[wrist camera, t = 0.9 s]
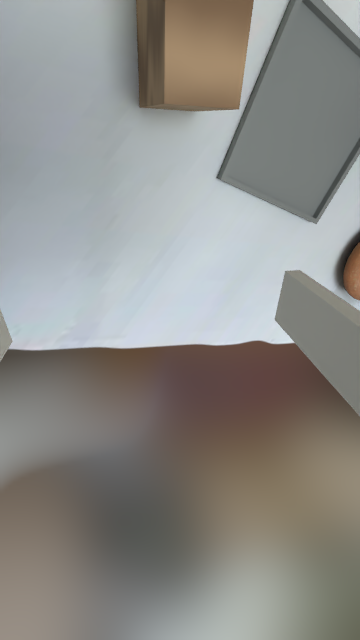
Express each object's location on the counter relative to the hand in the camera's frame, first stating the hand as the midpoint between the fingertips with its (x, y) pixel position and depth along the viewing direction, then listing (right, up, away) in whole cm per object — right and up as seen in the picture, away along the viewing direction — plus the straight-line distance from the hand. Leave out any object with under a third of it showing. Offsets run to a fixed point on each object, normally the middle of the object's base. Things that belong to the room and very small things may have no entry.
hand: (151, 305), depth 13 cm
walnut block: (0, +24, +13) cm, 28 cm away
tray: (+17, +22, +21) cm, 35 cm away
